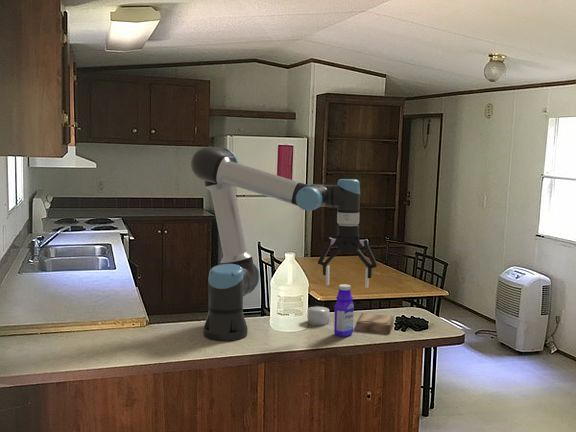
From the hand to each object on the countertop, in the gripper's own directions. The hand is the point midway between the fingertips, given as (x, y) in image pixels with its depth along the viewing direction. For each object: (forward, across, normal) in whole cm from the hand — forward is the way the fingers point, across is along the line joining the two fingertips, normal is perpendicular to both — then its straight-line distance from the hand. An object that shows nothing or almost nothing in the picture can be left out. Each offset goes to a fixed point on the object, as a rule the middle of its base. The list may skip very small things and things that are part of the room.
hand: (346, 286), depth 207 cm
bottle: (+18, -1, 0) cm, 18 cm away
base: (+17, +8, +13) cm, 23 cm away
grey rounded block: (+17, -13, +12) cm, 24 cm away
